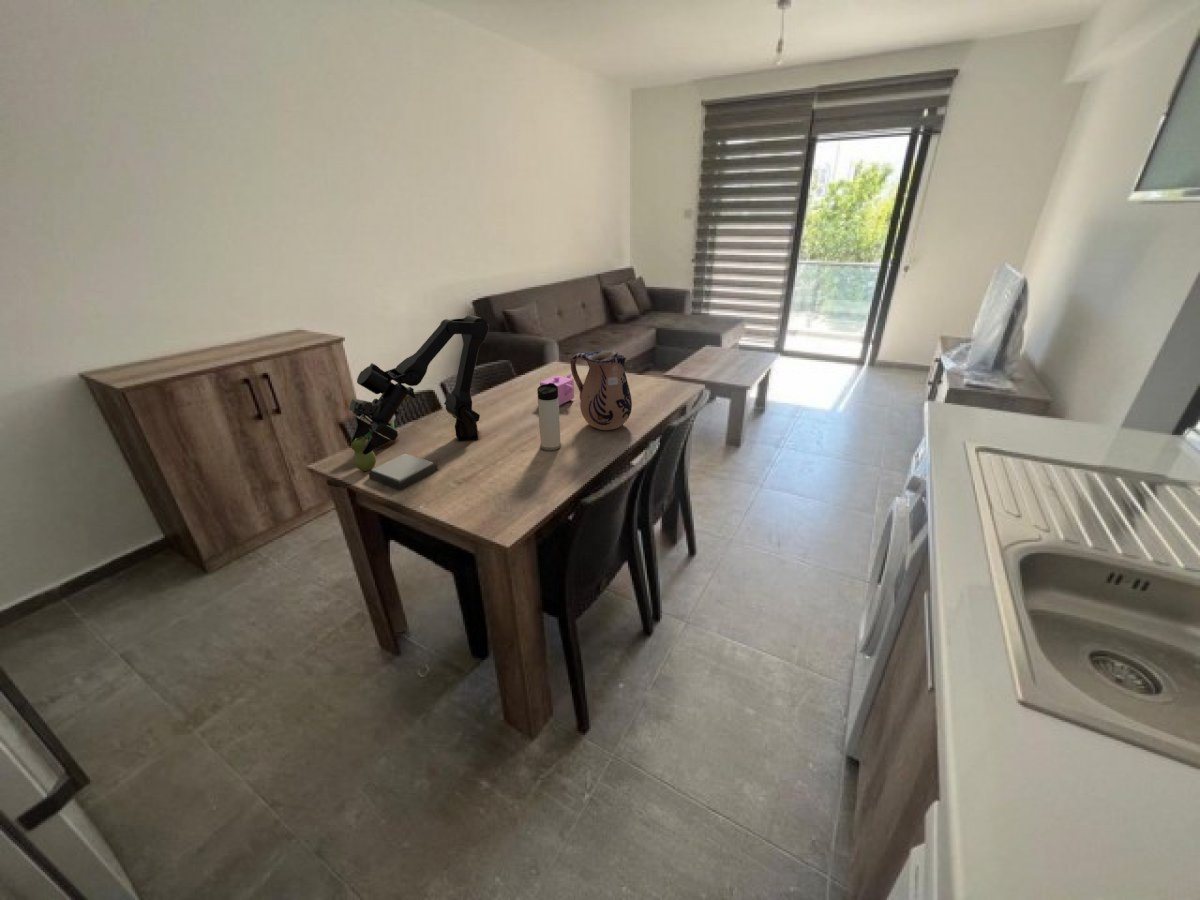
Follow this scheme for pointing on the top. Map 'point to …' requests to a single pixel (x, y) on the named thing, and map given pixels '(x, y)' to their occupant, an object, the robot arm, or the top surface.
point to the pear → (362, 455)
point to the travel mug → (549, 416)
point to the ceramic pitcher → (603, 389)
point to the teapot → (562, 387)
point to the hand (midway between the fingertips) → (358, 448)
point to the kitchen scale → (402, 471)
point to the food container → (390, 439)
